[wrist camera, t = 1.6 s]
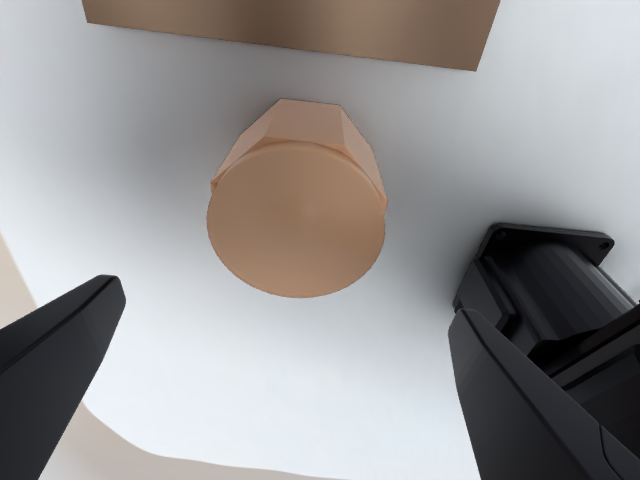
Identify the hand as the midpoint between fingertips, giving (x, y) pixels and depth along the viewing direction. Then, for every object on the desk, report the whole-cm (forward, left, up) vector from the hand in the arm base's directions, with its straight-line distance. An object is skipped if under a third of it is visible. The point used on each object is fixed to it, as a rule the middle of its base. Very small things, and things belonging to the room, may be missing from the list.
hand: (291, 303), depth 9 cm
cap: (0, 0, -9) cm, 9 cm away
